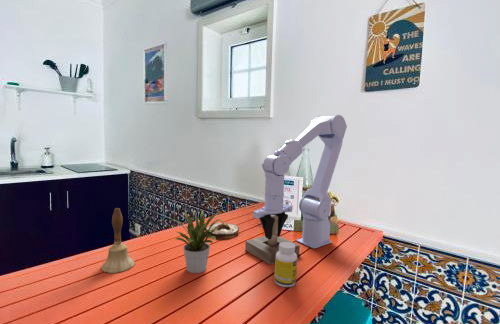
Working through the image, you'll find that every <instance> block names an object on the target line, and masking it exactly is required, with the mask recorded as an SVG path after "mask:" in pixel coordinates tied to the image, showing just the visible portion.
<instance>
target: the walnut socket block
mask: <svg viewBox="0 0 500 324" xmlns="http://www.w3.org/2000/svg"><path fill="white" fill-rule="evenodd" d="M281 242H290V243H293V244H294V245H295V253H296V255H297V256H299V255H300V251H301V250H300V245H299V244H298V243H295V242H293V241H290V240H289V239H286V238H284V237H282V236H280V237H277V246H274V247H270V246H268V245H267V244H268V238H265V235H263V236H259V237H256V238H252V239H248V240H245V246H244V247H245V249H244V250H245V251H246V252H248V253H250V254H251V255H253V256H255V257H256V258H258V259H260V260H262V261H264V263H266V264H268V265H270V266H271V265H275V259H276V253H277V252H278V251H279V244H280V243H281Z"/></svg>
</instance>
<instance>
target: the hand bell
mask: <svg viewBox="0 0 500 324" xmlns="http://www.w3.org/2000/svg"><path fill="white" fill-rule="evenodd" d="M112 213H113V214H112V216H111V217H112V218H111V225H112V228H113V232H114V233H113V234H114V239H113V241H114V242H113V245H111V246H109V248H108V251H107V258H106V260H105V262H104V263H102V265H101V267H100V270H101V269H102V270H101V271H102V272H103V271H104V273H106V272H107V274H117V273H121V272H126V271H127V270H131V269H132V268H133V267H134V266H135V264H136V262H135V260H134V259H133V258H132V257H130V255H129V251H128V246H127V244H124V243H122V227H123V224H124V223H123V221H124V220H123V215H122V214H123V213H122V211H121V208H120V207H119V208H118V207H115V208H114V210H113V212H112Z"/></svg>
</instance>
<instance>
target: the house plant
mask: <svg viewBox="0 0 500 324" xmlns="http://www.w3.org/2000/svg"><path fill="white" fill-rule="evenodd" d="M191 211H192V213H193V215H194V218H195V224H196V225H195V226H194V223H193V218H191V217H190V216H189V215H188V213H186V212H183V213H184V216H185V219H186V222H187V225H185V226H184V225H183V224H182V223H181V222H179V221H178V220H175V219H171V218H170V220H171V221H174V222H177V223H178V224H179V225H180V226H181V227H182V228H184V230H185V231H186V233H187V234H188V235H189V236H188V235H186V234H185V233H183V232H180V231H177V230H176V233H178V234H179V235H180V236H181V237H176V238H175V240H177V241H181V242H183V243H185V245H183V246H182V247H183V253H184V260H185V266H186V271H187V272H188V273H191V274H200V273H203V272H205V271H206V270H207V265H208V259H209V255H210V249H211V245H210V244H209V243H211V244H214V242H213V240H214V241H215V242H216V239H217V238H216V237H215V236H210V235H211V234H212V232H213V231H215V230H216V229H217V228H215V229H213V230H210V228H211V227H212V226H213V224H216V223H218V222H222V218H218V219H216V220H214V221H213V222H212V223H211V224H210V225H211V226H210V225H209V223H210V222H211V221H212V220H213V219H214V218H215V217H216V216H217V215H218V214H222V211H219V212H216V213H214V214H213V215H211V216H210V217H209V218H208V219H207V217H205V213H204V209H202V210H201V213H200V216H199V219H198V215H197V214H196V212H195V211H194V210H193V209H191ZM206 219H207V221H206V222H205V220H206ZM208 226H210V227H208ZM207 227H208V228H209V229H208V230H206V231H205V229H206V228H207ZM218 228H220V227H218ZM209 231H211V232H210V233H209V234H208V232H209ZM207 234H208V235H207ZM211 239H213V240H211Z"/></svg>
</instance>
